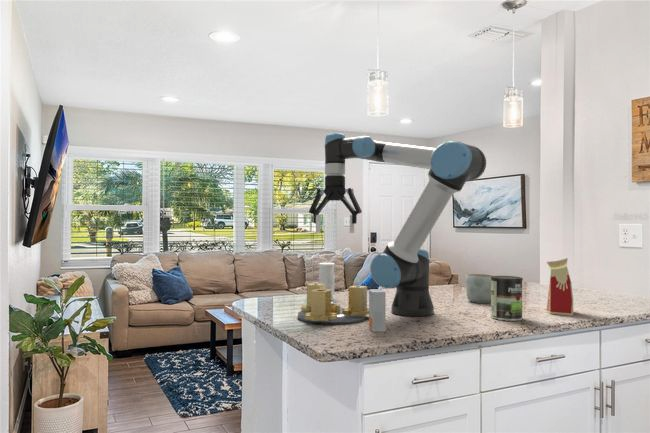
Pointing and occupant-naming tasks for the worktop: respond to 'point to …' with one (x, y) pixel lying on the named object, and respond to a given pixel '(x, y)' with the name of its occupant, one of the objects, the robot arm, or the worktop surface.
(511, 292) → the coffee can
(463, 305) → the worktop surface
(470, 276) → the planter
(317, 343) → the worktop surface
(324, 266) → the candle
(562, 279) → the red tall pouch
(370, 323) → the skincare box
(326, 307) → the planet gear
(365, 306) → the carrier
